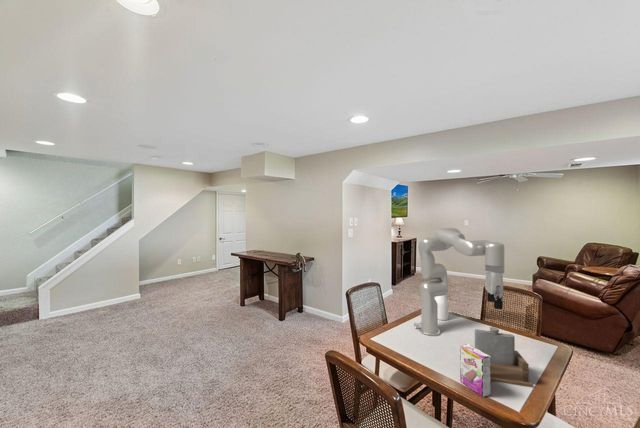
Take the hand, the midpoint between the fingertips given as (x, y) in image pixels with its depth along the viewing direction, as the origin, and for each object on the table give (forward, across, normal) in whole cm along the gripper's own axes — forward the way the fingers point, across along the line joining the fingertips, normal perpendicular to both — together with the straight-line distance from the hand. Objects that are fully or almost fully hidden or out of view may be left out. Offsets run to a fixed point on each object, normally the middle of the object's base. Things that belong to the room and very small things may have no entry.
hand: (494, 305), depth 125 cm
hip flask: (+31, 0, 0) cm, 31 cm away
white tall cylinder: (+32, -63, -15) cm, 72 cm away
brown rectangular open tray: (+32, 0, 0) cm, 32 cm away
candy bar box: (+32, +15, -12) cm, 37 cm away
